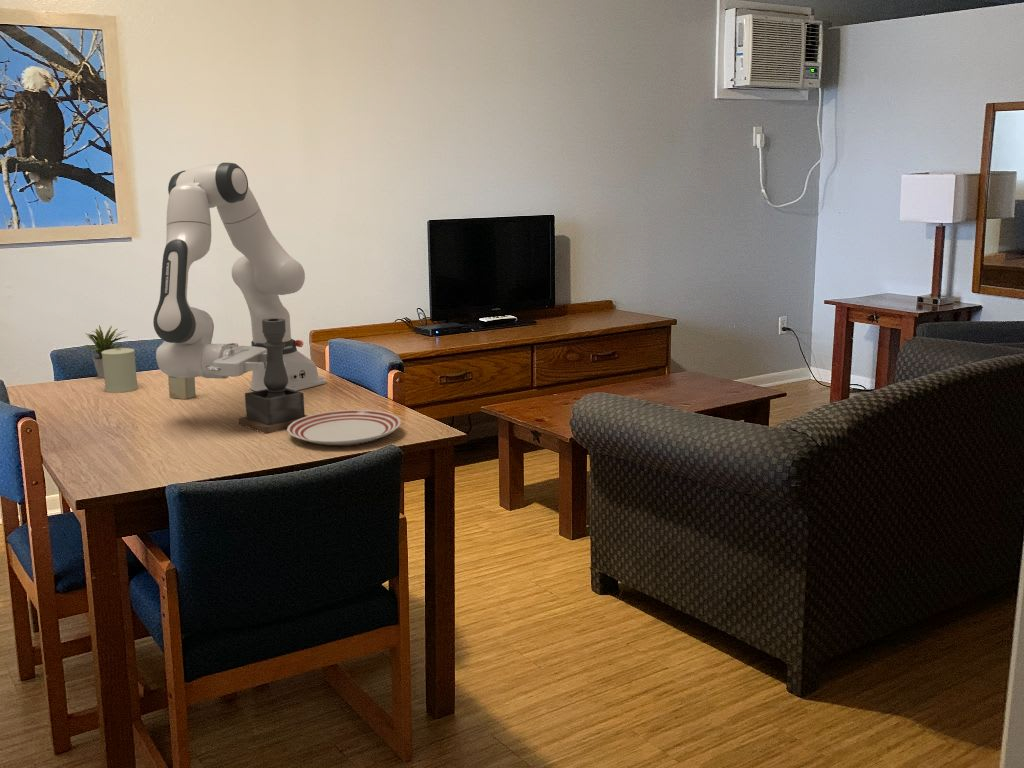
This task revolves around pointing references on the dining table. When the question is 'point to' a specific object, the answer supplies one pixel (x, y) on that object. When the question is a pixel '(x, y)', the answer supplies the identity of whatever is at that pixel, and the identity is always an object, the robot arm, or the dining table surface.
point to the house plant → (102, 347)
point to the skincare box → (181, 387)
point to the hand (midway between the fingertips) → (271, 362)
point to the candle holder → (274, 357)
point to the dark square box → (272, 410)
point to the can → (119, 370)
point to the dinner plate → (344, 427)
